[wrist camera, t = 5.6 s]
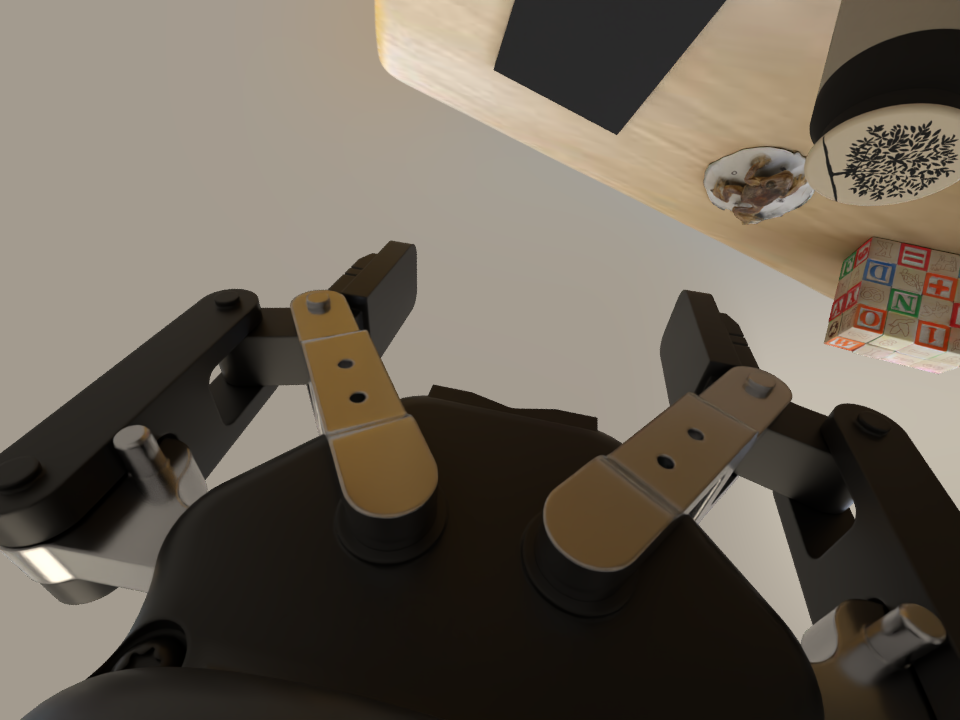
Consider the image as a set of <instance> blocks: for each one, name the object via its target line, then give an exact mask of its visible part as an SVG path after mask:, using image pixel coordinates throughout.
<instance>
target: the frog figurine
mask: <svg viewBox="0 0 960 720" xmlns="http://www.w3.org/2000/svg"><path fill="white" fill-rule="evenodd" d="M805 160H806V158H805V157H803V156H801V154H800V153H799V152H796V153H795V154H793V153H791V152H789V151H787V150H784V149H777V148H772V147H757V148H751V149H743V150H741V151H738V152H736V153H734V154H732V155H730V156H726V157H723V158H722V159H720V160H718V161H716V162H714V163H711V164H710V165H709V167H708V168H707V169H706V171H705V178H704V186H705V188H706V191H707V194H708V196H709V198H710V200H711V201H712V203H713V204H714V205H716V206H717V207H718V208H720V209H722V210H725V209H728V210H730V211H733V213H734V215H735V216H736V217H737V218H738V219H739V220H741V221H742V224H744V225H748V224H751V223H752V224H758V223H759V222H761V221H763V220H765V219H771V218H774V217H781V216H782V215H783V214H784V213H786V212H790V211H792V210H795V209H796V208H799V207H801V206H802V205H803V204H805V203H806V202H807V201H808V200H809V199H810V198H811V197H812V195H813V193H814V191H815V190H814V189H813V188H812V187H811V186H810V185H809V184H808V182H807V180H806V177H805V174H804V165H805Z"/></svg>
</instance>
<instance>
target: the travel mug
mask: <svg viewBox="0 0 960 720" xmlns="http://www.w3.org/2000/svg"><path fill="white" fill-rule="evenodd" d="M810 136H811V139H812V142H813V144H814V146H813V147H812V148H811V150H810V152H809V153H808V155H807V157H806V160H805V165H804V174H805V177H806V180H807V182H808V184H809V185H810V186H811V187H812V188H813V189H814V190H815V191H816V192H817V193H819V194H820V195H822V196H824V197H826V198H828V199H831V200H833V201H837V202H840V203H845V204H851V205H860V206H880V205H890V204H897V203H903V202H907V201H912V200H916V199H919V198H922V197H925V196H928V195H931V194H933V193H936V192H938V191H940V190H943V189H945V188H947V187H949V186H950V185H952V184H954V183H955V182H957V181H959V180H960V0H842V1H841V5H840V9H839V13H838V17H837V21H836V24H835V28H834V32H833V36H832V40H831V44H830V48H829V52H828V56H827V60H826V63H825V67H824V71H823V75H822V79H821V83H820V87H819V91H818V95H817V99H816V102H815V106H814V110H813V114H812V118H811V122H810Z"/></svg>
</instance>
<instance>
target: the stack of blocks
mask: <svg viewBox="0 0 960 720" xmlns="http://www.w3.org/2000/svg"><path fill="white" fill-rule="evenodd" d="M824 344H827V345H831V346H835V347H838V348H842V349H846V350H849V351H852V352H853V353H856V354H859V355H864V356H867V357H871V358H875V359H881V360H885V361H889V362H892V363H896V364H900V365H904V366H910V367H913V368H917V369H920V370H924V371H928V372H932V373H936V374H940V373H943V372H946V371H949V370H952V369H955V368H958V367H960V255H955V254H951V253H946V252H941V251H936V250H931V249H928V248H923V247H919V246H914V245H909V244H905V243H899V242H896V241H891V240H886V239H881V238H876V237H872V238H870V239H869V240H868V241H867V242H866V243H864V244H863V245H862V246H861V247H860V248H858V250H857V251H855V252H854V253H853V254H852V255H851V256H849V257H848V258H847V259H846V260H844V261H843V264H842V268H841V273H840V277H839V283H838V286H837V290H836V294H835V298H834V302H833V305H832V309H831V313H830V318H829V325H828V329H827V333H826V337H825V341H824Z"/></svg>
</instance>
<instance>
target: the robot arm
mask: <svg viewBox="0 0 960 720" xmlns="http://www.w3.org/2000/svg"><path fill="white" fill-rule="evenodd" d="M416 253H417V252H416V247H415V245H414V244H408V243H402V242H396V241H389V242H388V243H387V244H386V246H385V247H384V248H383V249H382V250H381V251H380V252H379V253H378V254H375V253H372V254H369V255H367V256H365V257H362V258H360V259H359V260H358V261H357V262H356V263H355V264H354V265H353V266H352V267H351V268H350V269H348V270H347V271H346V272H345V275H342V276H341V277H340V278H339V279H338V280H337V281H336V282H335V283H334V284H333V285H332V286H331V287H330V288H329V289H328V290H314V291H308V292H305V293H302V294H300V295H298V296H297V297H295V298H294V299H293V300H292V301H291V303H290V308H261V307H260V304H259V300H258V296H257V295H256V294H255V293H253V292H251V291H248V290H244V289H228V290H222V291H218V292H214V293H212V294H209V295H207V296H206V297H204V298H202V299H201V300H200V301H198V302H197V303H196V304H195V305H193V306H192V307H191V308H190V309H188V310H187V311H185V312H184V313H183V314H182V315H180V316H179V317H178V318H177V319H175V320H174V321H172V322H171V323H170V324H169V325H167V326H166V327H165V328H163V329H162V330H161V331H160V332H158V333H157V334H155V335H154V336H153V337H152V338H150V339H149V340H148V341H146V342H145V343H144V344H142V345H141V346H140V347H139V348H137V349H136V350H135V351H133V352H132V353H131V354H130V355H128V356H127V357H126V358H124V359H123V360H122V361H120V362H119V363H118V364H116V365H115V366H114V367H113V368H111V369H110V370H109V371H107V372H106V373H105V374H103V375H102V376H101V377H99V378H98V379H97V380H96V381H94V382H93V383H92V384H90V385H89V386H88V387H87V388H85V389H84V390H83V391H81V392H80V393H79V394H78V395H76V396H75V397H74V398H72V399H71V400H70V401H68V402H67V403H66V404H64V405H63V406H62V407H60V408H59V409H58V410H57V411H55V412H54V413H53V414H51V415H50V416H49V417H48V418H46V419H45V420H43V421H42V422H41V423H40V424H38V425H37V426H36V427H34V428H33V429H32V430H31V431H29V432H28V433H27V434H25V435H24V436H23V437H21V438H20V439H19V440H17V441H16V442H15V443H13V444H12V445H11V446H10V447H8V448H7V449H6V450H4V451H3V452H2V453H0V551H1V552H2V553H3V554H4V555H5V556H6V557H7V558H8V559H9V560H11V561H12V562H13V563H14V564H15V565H16V566H17V567H18V568H19V569H20V570H21V571H23V572H24V573H25V574H26V575H27V576H28V577H29V578H31V580H33V581H35V582H38V583H40V584H41V585H42V586H43V587H45V588H46V589H47V590H48V591H49V592H50V593H51V594H52V595H53V596H54V597H55V598H56V599H58V600H59V601H60V602H62V603H65V604H69V605H79V604H85V603H89V602H92V601H95V600H98V599H100V598H102V597H104V596H106V595H108V594H109V593H111V592H112V591H114V590H115V589H117V588H118V587H121V588H127V589H131V590H136V591H141V592H146V593H147V596H146V599H145V601H144V603H143V606H142V608H141V610H140V613H139V615H138V617H137V619H136V621H135V623H134V624H133V626H132V628H131V630H130V632H129V634H128V635H127V637H126V638H125V640H124V641H123V642H122V644H121V645H120V646H119V647H118V649H117V650H116V651H115V652H114V653H113V654H112V655H111V657H110V658H109V659H108V660H107V661H106V662H105V663H104V664H103V665H102V666H101V667H100V668H98V669H97V670H96V671H95V672H94V673H93V674H92V675H90V676H89V677H88V678H87V679H86V680H84V681H82V682H80V683H77V684H75V685H73V686H71V687H69V688H67V689H65V690H62V691H61V692H59V693H57V694H56V695H54V696H52V697H50V698H49V699H47V700H45V701H44V702H42V703H41V704H40V705H38V706H37V707H36V708H34V709H33V710H32V711H30V712H29V713H28V714H27V715H25V716H24V717H23V718H22V719H21V720H960V511H959V510H958V508H957V507H956V505H955V504H954V502H953V501H952V499H951V498H950V496H949V495H948V494H947V492H946V491H945V489H944V488H943V486H942V485H941V483H940V482H939V480H938V479H937V478H936V476H935V474H934V473H933V471H932V470H931V469H930V467H929V466H928V464H927V463H926V462H925V460H924V458H923V457H922V455H921V454H920V452H919V451H918V450H917V448H916V447H915V445H914V444H913V442H912V441H911V439H910V438H909V436H908V435H907V433H906V432H905V431H904V430H903V429H902V428H901V427H900V426H899V425H898V424H897V423H896V422H894V421H893V420H891V419H890V418H888V417H887V416H885V415H883V414H881V413H879V412H877V411H875V410H873V409H870V408H867V407H865V406H861V405H856V404H848V403H847V404H840V405H838V406H836V407H835V408H834V410H833V411H832V412H831V414H830V415H829V416H826V415H823V414H820V413H818V412H815V411H812V410H809V409H807V408H804V407H801V406H799V405H796V404H794V403H792V402H790V401H791V400H792V393H791V390H790V389H789V388H788V386H787V385H786V384H785V383H784V382H783V381H781V380H780V379H779V378H777V377H776V376H774V375H772V374H770V373H768V372H766V371H763V370H761V369H759V367H758V365H757V362H756V361H755V358H754V356H753V354H752V352H751V350H750V348H749V347H748V344H747V342H746V339H745V338H743V336H744V335H743V333H742V331H741V329H740V327H739V325H738V324H737V323H736V322H735V321H734V320H733V319H732V318H730V317H729V316H728V315H727V314H724V313H720V312H719V310H718V308H717V305H716V303H715V301H714V298H713V296H712V295H711V294H707V293H701V292H695V291H689V290H683V291H682V292H681V293H680V295H679V297H678V300H677V302H676V304H675V307H674V310H673V312H672V314H671V317H670V319H669V322H668V324H667V327H666V329H665V332H664V335H663V337H662V341H661V346H660V357H661V362H662V367H663V373H664V377H665V383H666V388H667V393H668V399H669V403H670V407H668V408H667V409H666V410H665V411H663V412H662V413H661V414H659V415H658V416H657V417H656V418H654V419H653V420H652V421H651V422H649V423H648V424H647V425H646V426H644V427H643V428H642V429H641V430H639V431H638V432H637V433H635V434H634V435H633V436H632V437H630V438H629V439H628V440H627V441H625V442H624V443H623V444H622V443H621V442H619V441H617V440H616V439H614V438H613V437H611V436H609V435H607V434H605V433H603V432H600V431H598V430H597V418H596V417H591V416H585V415H581V414H576V413H571V412H566V411H561V410H556V409H515V408H510V407H507V406H504V405H502V404H499V403H497V402H495V401H492V400H489V399H487V398H485V397H482V396H480V395H477V394H475V393H472V392H467V391H462V390H458V389H453V388H448V387H442V386H438V385H433V386H432V388H431V390H430V392H429V395H428V396H412V397H406V398H402V399H400V398H399V396H398V394H397V392H396V390H395V388H394V385H393V383H392V381H391V379H390V377H389V375H388V373H387V371H386V369H385V366H384V364H383V362H382V360H381V357H382V355H383V354H384V352H385V351H386V349H387V348H388V346H389V344H390V343H391V341H392V340H393V338H394V337H395V335H396V334H397V332H398V331H399V329H400V327H401V326H402V324H403V323H404V321H405V320H406V318H407V317H408V315H409V314H410V312H411V311H412V309H413V307H414V304H415V301H416V294H417V254H416ZM218 364H219V366H220V369H221V371H222V372H221V373H220V374H219V375H218V376H217V378H216V379H215V380H214V381H213V382H212V383H211V384H210V385H209V380H210V376H211V373H212V371H213V369H214V368H215V367H216V366H217V365H218ZM304 384H306V385H307V390H308V393H309V397H310V402H311V405H312V409H313V413H314V417H315V421H316V425H317V429H318V433H319V436H318V437H316V438H314V439H312V440H310V441H308V442H306V443H304V444H302V445H300V446H298V447H296V448H294V449H292V450H290V451H287V452H285V453H283V454H281V455H279V456H277V457H275V458H273V459H271V460H269V461H267V462H265V463H263V464H261V465H259V466H257V467H255V468H253V469H251V470H249V471H247V472H245V473H243V474H240V475H238V476H236V477H234V478H232V479H230V480H228V481H226V482H224V483H222V484H220V485H219V486H217V487H215V488H213V489H211V490H210V491H208V492H207V484H206V481H205V480H206V478H207V477H208V476H209V475H210V473H211V472H212V471H213V469H214V468H215V467H216V466H217V464H218V463H219V462H220V460H221V459H222V458H223V456H224V455H225V454H226V453H227V451H228V450H229V449H230V448H231V446H232V445H233V444H234V442H235V441H236V440H237V439H238V437H239V436H240V435H241V434H242V432H243V431H244V429H245V428H246V427H247V426H248V425H249V423H250V422H251V421H252V419H253V418H254V417H255V415H256V414H257V413H258V412H259V410H260V409H261V408H262V407H263V405H264V404H265V403H266V401H267V400H268V399H269V398H270V396H271V395H272V394H273V393H274V391H275V390H276V389H277V387H278V385H304ZM739 476H741V477H744V478H746V479H748V480H750V481H753V482H755V483H757V484H759V485H761V486H764V487H766V488H768V489H771V490H773V496H774V499H775V502H776V505H777V509H778V512H779V515H780V518H781V522H782V525H783V529H784V532H785V535H786V539H787V542H788V545H789V548H790V552H791V555H792V558H793V561H794V565H795V568H796V571H797V575H798V578H799V581H800V584H801V588H802V591H803V595H804V598H805V601H806V604H807V608H808V611H809V614H810V618H811V621H812V624H813V626H812V627H810V628H809V629H808V630H806V632H805V633H804V634H803V637H802V640H801V644H800V643H799V641H798V640H797V638H796V637H795V635H794V634H793V633H792V631H791V630H790V629H789V627H788V626H787V625H786V623H785V622H784V621H783V620H782V619H781V617H780V616H779V615H778V614H777V613H776V612H775V611H774V610H773V608H772V607H771V606H770V605H769V604H768V603H767V602H766V600H765V599H764V598H763V597H762V596H761V595H760V594H759V593H758V592H757V590H756V589H755V588H754V587H753V586H752V585H751V584H750V583H749V581H748V580H747V579H746V578H745V577H744V576H743V575H742V573H741V572H740V571H739V570H738V569H737V568H736V567H735V566H734V564H733V563H732V562H731V561H730V560H729V559H728V558H727V557H726V555H725V554H724V553H723V552H722V551H721V550H720V549H719V548H718V546H717V545H716V544H715V543H714V542H713V541H712V540H711V539H710V538H709V536H708V535H707V534H706V533H705V532H704V531H703V530H702V528H701V527H700V526H699V525H698V524H699V523H700V521H701V520H702V519H703V518H704V516H705V515H706V514H707V513H708V512H709V511H710V509H711V508H712V507H713V506H714V505H715V504H716V503H717V501H718V500H719V499H720V498H721V497H722V495H724V493H725V492H726V491H727V490H728V489H729V488H730V486H731V485H732V484H733V483H734V482H735V481H736V479H737V478H738V477H739ZM853 503H854V504H855V507H856V518H855V519H854V517H853V514H852V512H851V510H850V508H849V507H850V506H851V505H852V504H853Z"/></svg>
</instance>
